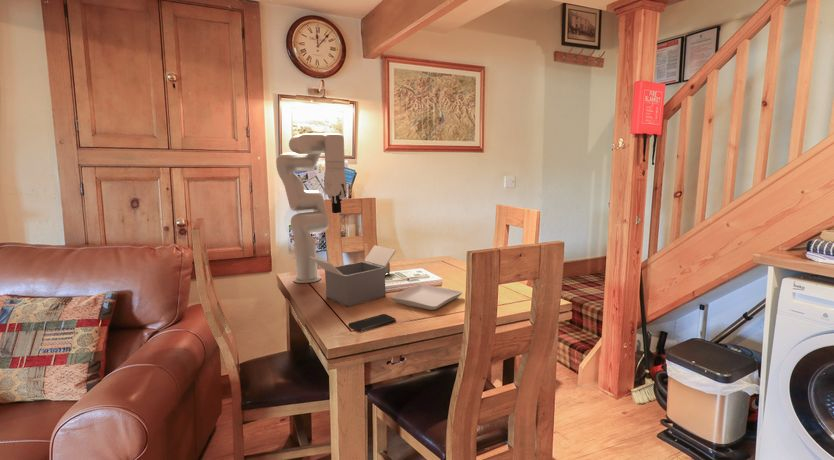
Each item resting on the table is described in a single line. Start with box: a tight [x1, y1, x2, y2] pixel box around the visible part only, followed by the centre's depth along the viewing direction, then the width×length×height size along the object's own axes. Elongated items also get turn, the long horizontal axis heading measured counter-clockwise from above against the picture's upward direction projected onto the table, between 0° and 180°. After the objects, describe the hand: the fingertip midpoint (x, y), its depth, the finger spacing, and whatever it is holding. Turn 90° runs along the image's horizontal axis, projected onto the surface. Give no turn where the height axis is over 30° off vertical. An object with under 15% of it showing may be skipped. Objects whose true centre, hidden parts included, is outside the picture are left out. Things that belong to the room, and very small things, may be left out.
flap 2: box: [363, 244, 397, 267], centre depth 184 cm, size 15×8×1 cm
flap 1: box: [310, 256, 343, 276], centre depth 168 cm, size 15×8×1 cm
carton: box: [324, 261, 387, 308], centre depth 178 cm, size 16×18×12 cm
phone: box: [348, 313, 397, 333], centre depth 149 cm, size 8×1×15 cm
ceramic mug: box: [371, 261, 391, 274], centre depth 213 cm, size 11×8×8 cm
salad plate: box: [389, 284, 463, 311], centre depth 171 cm, size 21×21×3 cm
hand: (336, 212), depth 176 cm, fingers closed
